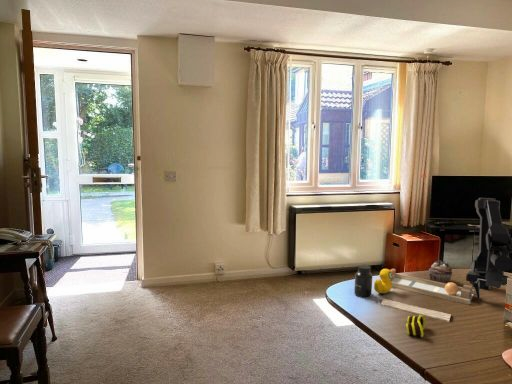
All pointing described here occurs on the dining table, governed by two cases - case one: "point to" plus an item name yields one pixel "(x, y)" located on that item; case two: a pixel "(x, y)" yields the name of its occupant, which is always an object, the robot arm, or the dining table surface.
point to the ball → (451, 288)
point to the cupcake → (440, 272)
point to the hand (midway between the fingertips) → (492, 301)
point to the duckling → (384, 281)
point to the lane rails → (427, 292)
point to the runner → (425, 287)
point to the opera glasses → (415, 325)
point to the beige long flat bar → (416, 310)
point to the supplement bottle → (363, 281)
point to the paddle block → (466, 292)
